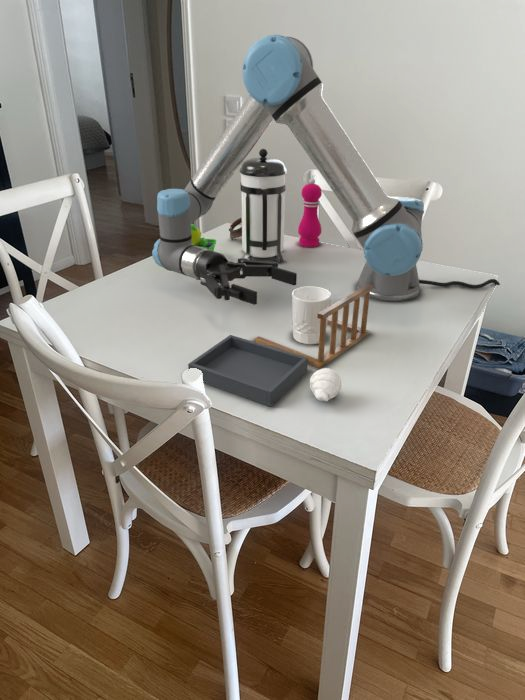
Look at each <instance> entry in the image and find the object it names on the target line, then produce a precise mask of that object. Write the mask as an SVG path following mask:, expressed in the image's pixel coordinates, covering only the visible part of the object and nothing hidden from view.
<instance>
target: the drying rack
mask: <svg viewBox="0 0 525 700" xmlns="http://www.w3.org/2000/svg"><path fill="white" fill-rule="evenodd" d="M371 290H373V285H371V284H367V285H365V286H364V287H362V288H360V289H358V288H357V290H355V291H353V292H351V293H350V294H348V295H346V296H344V297H343V298H341V299H339V300H338V301H336V302H334V303H333V304H330V306H329V307H327V308H326V309H324V310H322V311H321V312H319V313H318V315H317V318H319V319H320V334H319V343H318V352H317V358H315V357H313V356H311V355H308V354H305V353H303V352H300V351H298V350H296V349H292V348H290V347H288V346H284V345H282V344H280V343H277V342H274V341H272V340H269V339H267V338H264V337H262V336H257V337H255V338H254V339H253V341H254V342H256V343H260V344H263V345H266V346H270V347H273V348H277V349H280V350H283V351H287V352H290V353H293V354H297V355H300V356H304V357H307V358H308V365H310V366H313V367H315V368H318V369H322V368H324V367H325V365H327V364H328V363H330V362H331V361H332V360H334V359H336V358H337V357H338V356H340V355H341V354H343V353H344V352H345V351H347V350H348V349H350V348H351V347H352V346H354V345H356V344H357V343H358V342H359V341H361V340H363V339H364V338H366V337H367V336H368V335H369V333H370V331H369V330H367V323H368V315H369V307H370V306H369V305H370V291H371ZM362 297H363V303H362V305H363V306H362V315H361V323H360V327H358V322H359V312H360V305H361V304H360V302H361V298H362ZM351 303H353V309H352V318H351V319H352V320H351V324H350V323H349V314H350V304H351ZM341 309H342V319H341V320H342V321H341V320H338V319H339V310H341ZM330 316H331V317H330ZM327 317H328V322H327V325H330V339H329V351H328V352H327V353H326V354H325V349H326V348H325V346H326V331H327V327H326V319H327ZM338 328H339V329H341V330H340V331H341V332H340V343H339V345H336V344H337V332H338ZM348 332H350V337H349V338H348V339H347V337H348V336H347V335H348Z"/></svg>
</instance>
